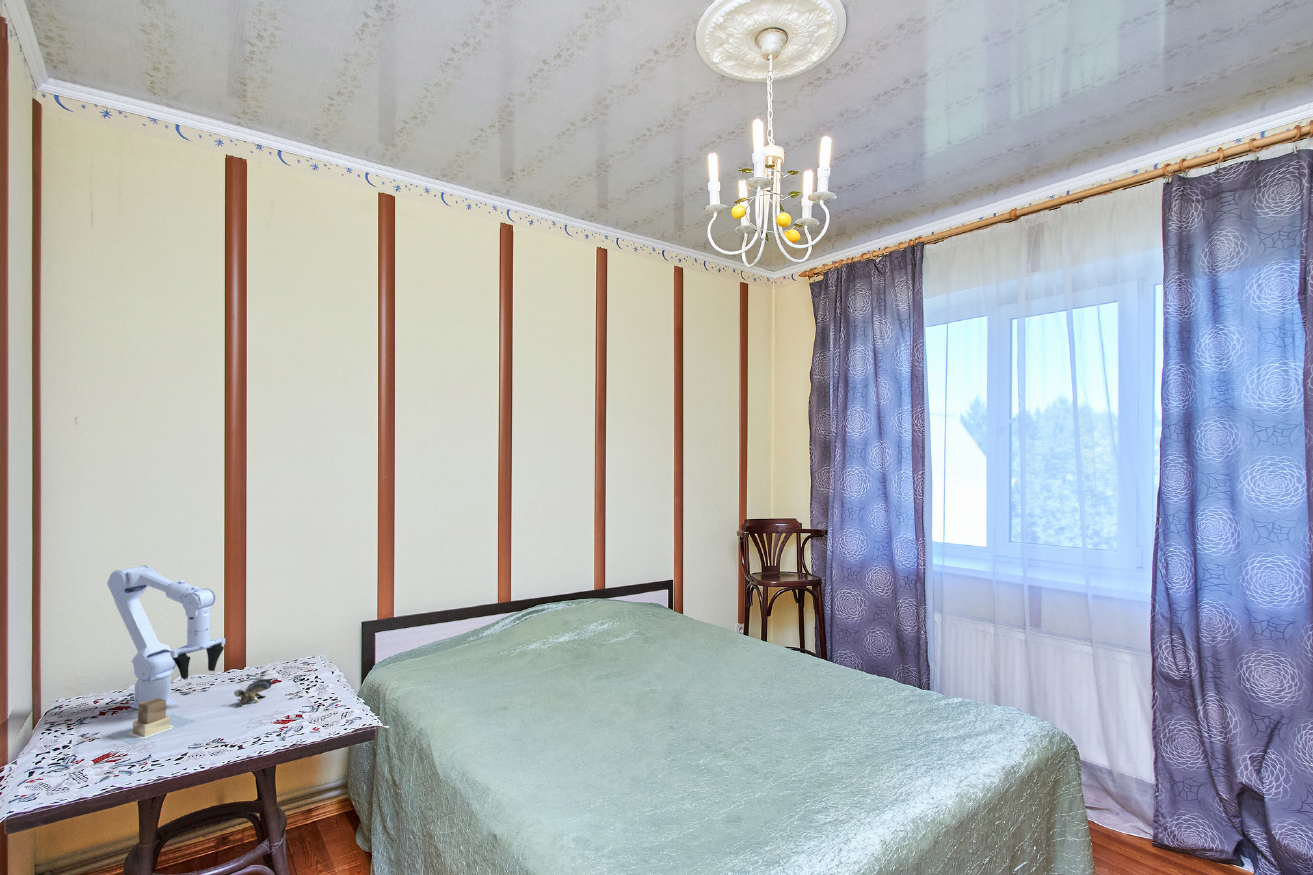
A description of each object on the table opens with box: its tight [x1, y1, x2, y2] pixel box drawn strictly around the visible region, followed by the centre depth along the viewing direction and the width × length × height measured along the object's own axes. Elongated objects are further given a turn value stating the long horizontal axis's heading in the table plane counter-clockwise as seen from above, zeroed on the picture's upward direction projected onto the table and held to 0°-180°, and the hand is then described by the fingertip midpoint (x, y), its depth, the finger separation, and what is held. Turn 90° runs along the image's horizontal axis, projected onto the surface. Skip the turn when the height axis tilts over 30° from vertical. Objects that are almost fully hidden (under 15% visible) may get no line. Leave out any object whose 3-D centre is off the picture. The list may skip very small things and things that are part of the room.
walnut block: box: [137, 698, 167, 724], centre depth 174 cm, size 4×4×5 cm
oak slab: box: [132, 715, 170, 737], centre depth 174 cm, size 6×6×3 cm
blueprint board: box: [107, 713, 197, 745], centre depth 176 cm, size 12×16×1 cm
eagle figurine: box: [233, 678, 273, 707], centre depth 196 cm, size 8×7×9 cm
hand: (198, 674), depth 191 cm, fingers open, 7 cm apart
